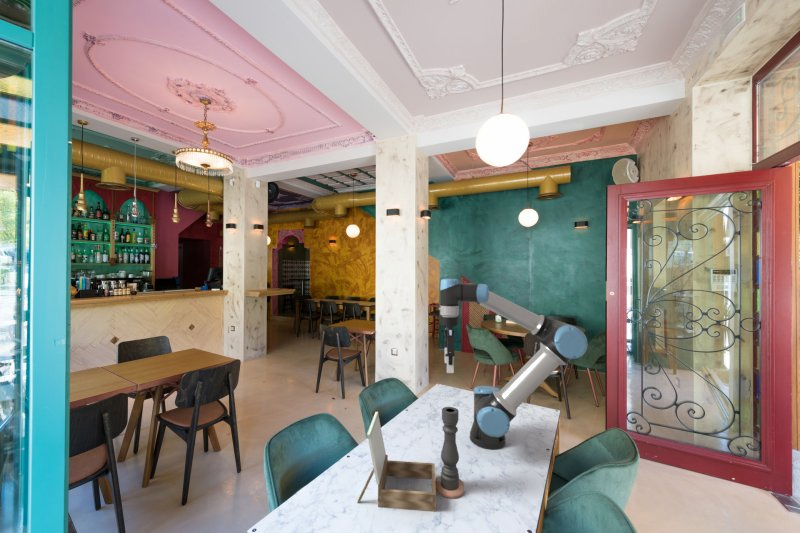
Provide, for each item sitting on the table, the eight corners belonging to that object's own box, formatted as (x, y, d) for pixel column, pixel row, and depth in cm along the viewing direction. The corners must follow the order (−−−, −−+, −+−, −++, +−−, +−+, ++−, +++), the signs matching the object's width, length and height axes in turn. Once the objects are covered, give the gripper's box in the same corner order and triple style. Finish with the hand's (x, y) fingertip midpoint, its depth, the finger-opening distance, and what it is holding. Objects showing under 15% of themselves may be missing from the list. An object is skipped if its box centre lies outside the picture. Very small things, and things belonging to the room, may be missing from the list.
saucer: (462, 479, 109) (462, 476, 110) (466, 499, 100) (466, 496, 100) (434, 477, 110) (434, 474, 110) (435, 497, 100) (435, 493, 100)
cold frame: (434, 477, 110) (434, 443, 111) (435, 512, 94) (436, 471, 95) (366, 473, 112) (366, 439, 113) (356, 505, 97) (357, 466, 97)
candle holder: (438, 478, 108) (439, 406, 109) (456, 478, 108) (456, 406, 109) (442, 491, 102) (443, 414, 102) (461, 490, 102) (461, 414, 103)
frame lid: (386, 454, 112) (386, 411, 113) (379, 485, 96) (379, 434, 96) (374, 453, 113) (375, 411, 113) (366, 484, 96) (366, 434, 97)
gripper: (438, 312, 140) (438, 359, 140) (441, 319, 115) (441, 377, 115) (455, 312, 140) (455, 359, 139) (461, 320, 115) (461, 377, 114)
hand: (448, 367), depth 127 cm, fingers open, 13 cm apart
